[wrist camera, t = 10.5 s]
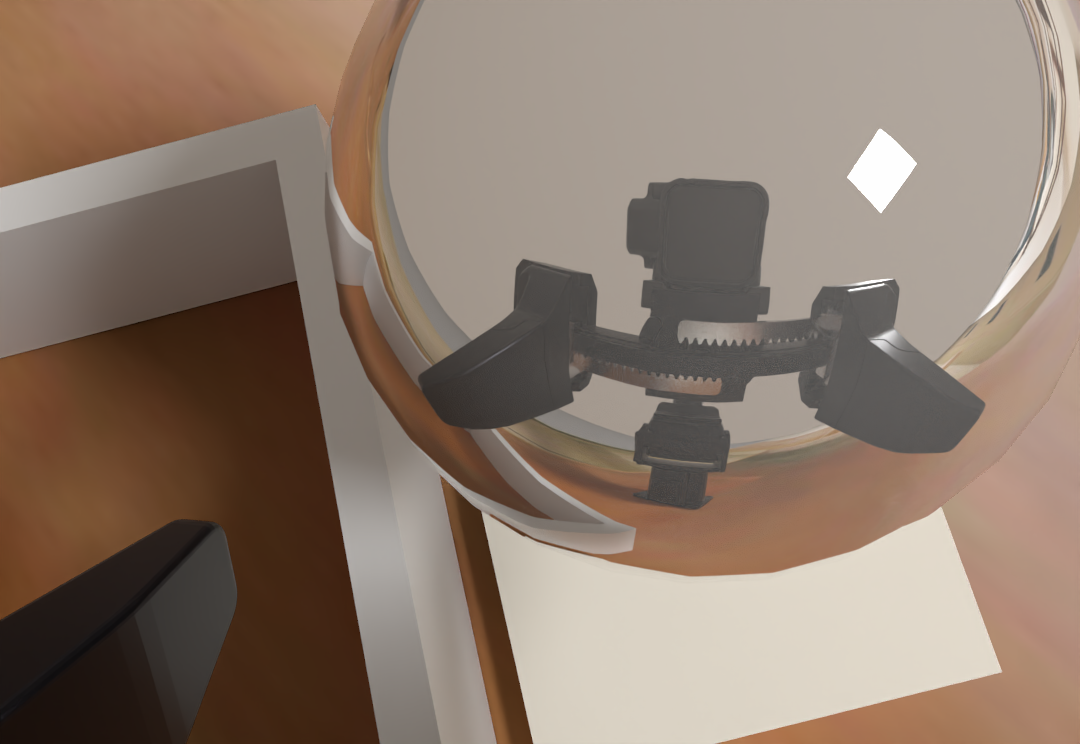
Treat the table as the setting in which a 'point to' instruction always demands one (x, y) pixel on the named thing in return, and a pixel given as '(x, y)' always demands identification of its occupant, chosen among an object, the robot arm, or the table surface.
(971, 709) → the table surface
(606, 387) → the light bulb
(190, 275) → the grey box
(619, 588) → the cream board
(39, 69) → the table surface
